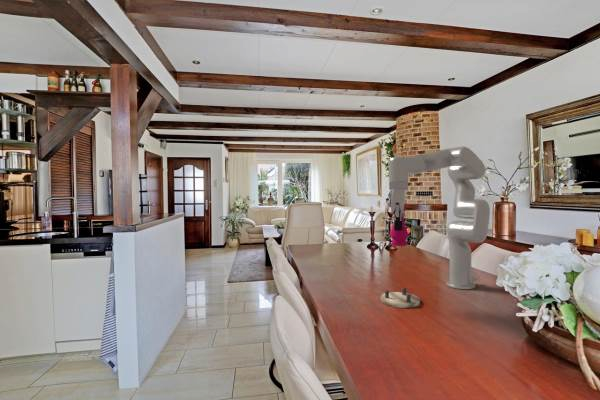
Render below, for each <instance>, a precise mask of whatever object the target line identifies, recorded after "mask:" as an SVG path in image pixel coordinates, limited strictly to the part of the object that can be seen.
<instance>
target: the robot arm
mask: <svg viewBox="0 0 600 400" xmlns="http://www.w3.org/2000/svg"><path fill="white" fill-rule="evenodd" d="M445 168H447V174H448V176H449V178H450V179H451V181H452V182H453V186H454V188H455V193H454V201H453V210H452V211H453V215H454V217H456V218H458V219H465V220H466V221H465V220H454V221H451V222H449V224H447V228H446V233H447V234H446V235H447V237H448V238H447V239H448V245H449V247H448V248H449V249H448V250H449V253H448V254H449V255H448V256H449V280H447V281H446V282H445V284H446V286H447V287H449V288H453V289H458V290H473V289H476V284H475V283H474V282H477V281H478V280H479V277H478V276H477V275H475V276H472V248H471V246H470V244H469V243H475V244H479V243H483V242H485V240H486V239H487V236H488V232H489V230H488V229H489V222H490V216H491V210H490V209H491V208H490V204H489V203H488V202H487V201H486V200H484V199H481V198H479V199H478V198H475V197H476V195H475V194H476V189H475V186H474V184H473V183H472V182H471V180H479V179H481V178H483V177H484V176H485V174H486V166H485V163H484V162H483V160H481V159H480V157H479V156H477V154H476V153H475V152H474V151H472V149H470V148H469V147H466V146H457V147H451V148H449V147H448V148H444V149H438V150H434V151H429V152H424V153H420V154H416V155H413V156H392V157H390V158H389V160H388V189H389V191H391V192H390V193H391V194H390V197H391V199H390V213H391V214H392V215H393V213H394V212H395V217H394V216H393V225H394V230H402V213H405V211H404V204H406V191H408V190H409V182H408V181H409V175H410V176H411V175H412V176H413V175H419V174H421V173H423V172H433V171H438V170H440V169H445ZM399 207H400V208H399ZM394 210H395V211H394ZM400 210H401V211H400ZM399 212H401V213H399ZM469 219H470V220H473V221H467V220H469ZM394 220H395V221H394Z"/></svg>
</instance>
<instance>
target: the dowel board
mask: <svg viewBox="0 0 600 400" xmlns="http://www.w3.org/2000/svg"><path fill="white" fill-rule="evenodd" d="M401 288H402V289H401V290H402V291H401V292H400V291H395V292H394V291H389V290H388V289H384V293H382V294H381V295H380V296H379V297H380V299H379V300H380V303H382V304H383V305H385V306H388V307H393V308H399V309H414V308H417V307H419V306H420V305H421V298H420V297H419V296H417V295H415V294H412V293H408V292H407V287H405V286H403V287H401Z"/></svg>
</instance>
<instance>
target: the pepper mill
mask: <svg viewBox="0 0 600 400" xmlns="http://www.w3.org/2000/svg"><path fill="white" fill-rule="evenodd" d="M399 208H400V207H399ZM406 210H407V205H406V203H405V204H404V213H402V230H394V224H393V225H392V227H391V229H390V233H389V236H390V237H391V239H392V240H391V245H392V246H395V247H405V246H408V241H407V240H406V239H407V238H408V237H409V232H408V229H407V227H406V224H405V217H406V213H405V211H406ZM394 211H395V210H394ZM400 211H401V210H400ZM399 213H401V212H399ZM392 216H393V218H394V217H395V212H394V213H393V214H392ZM394 221H395V220H394V219H393V222H394Z"/></svg>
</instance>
